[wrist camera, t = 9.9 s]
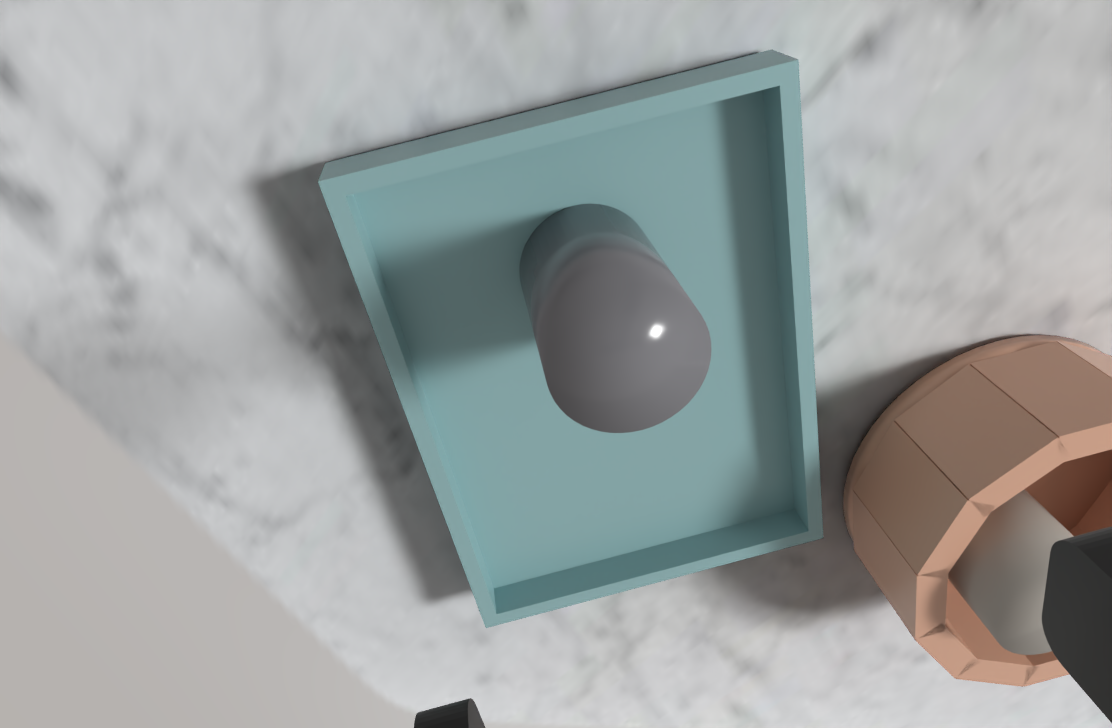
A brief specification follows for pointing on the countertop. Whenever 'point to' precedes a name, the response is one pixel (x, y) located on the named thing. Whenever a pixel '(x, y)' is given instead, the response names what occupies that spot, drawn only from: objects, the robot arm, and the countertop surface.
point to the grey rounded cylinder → (611, 321)
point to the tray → (512, 355)
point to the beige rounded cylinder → (1010, 572)
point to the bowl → (979, 483)
